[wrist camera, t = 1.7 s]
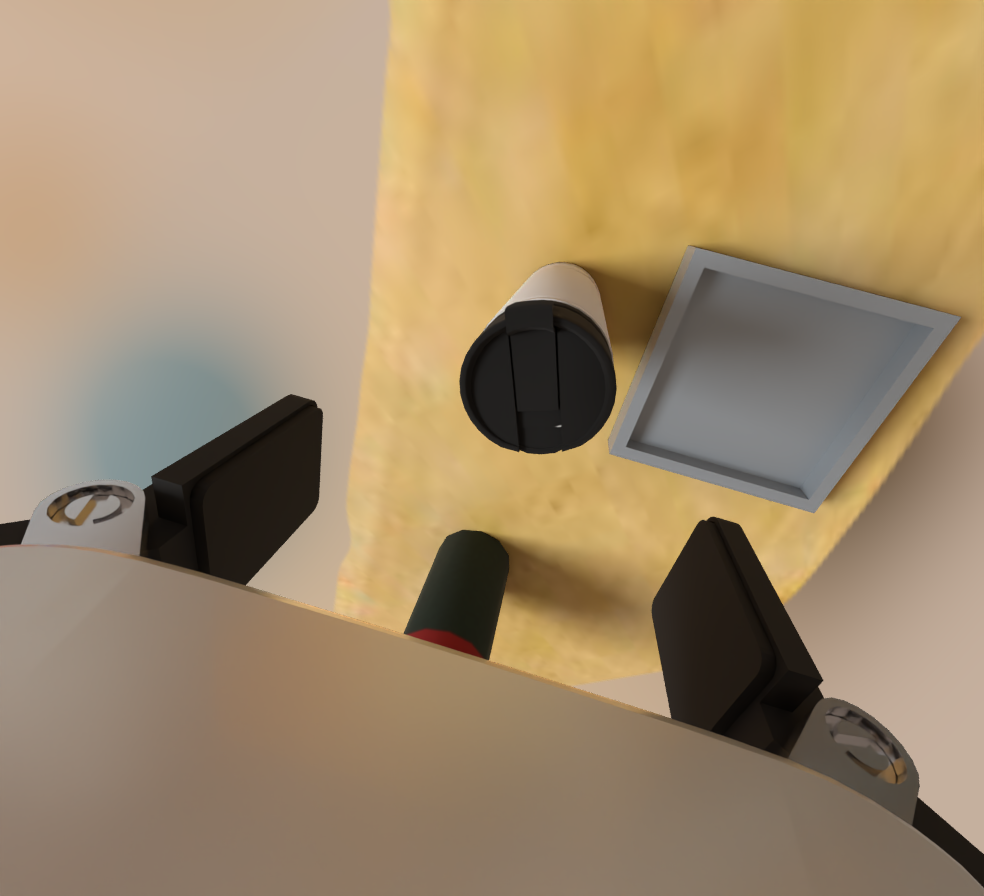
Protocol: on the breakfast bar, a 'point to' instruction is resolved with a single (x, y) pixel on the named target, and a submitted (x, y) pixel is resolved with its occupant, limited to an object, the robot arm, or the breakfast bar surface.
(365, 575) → the breakfast bar surface
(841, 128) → the breakfast bar surface
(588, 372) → the travel mug
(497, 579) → the wine bottle
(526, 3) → the breakfast bar surface
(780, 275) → the tray
